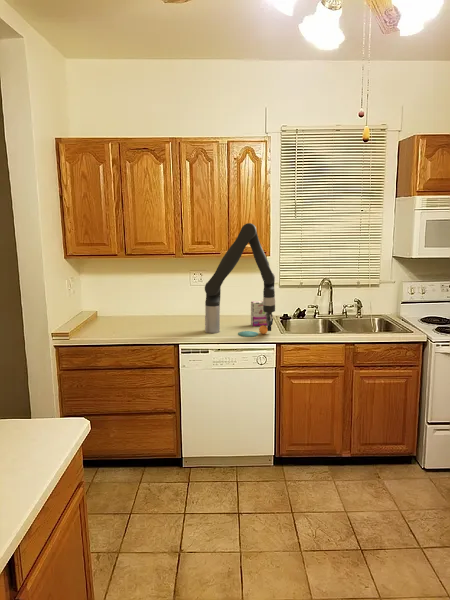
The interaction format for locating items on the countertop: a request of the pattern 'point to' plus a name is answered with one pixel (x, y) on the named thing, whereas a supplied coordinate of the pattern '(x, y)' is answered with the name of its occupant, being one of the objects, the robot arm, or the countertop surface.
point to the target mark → (248, 334)
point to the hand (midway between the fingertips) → (269, 330)
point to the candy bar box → (258, 314)
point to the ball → (263, 329)
